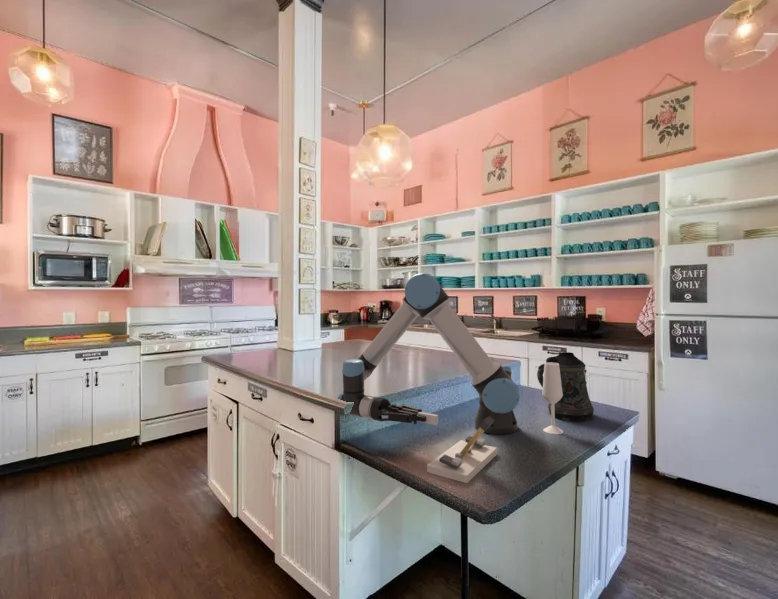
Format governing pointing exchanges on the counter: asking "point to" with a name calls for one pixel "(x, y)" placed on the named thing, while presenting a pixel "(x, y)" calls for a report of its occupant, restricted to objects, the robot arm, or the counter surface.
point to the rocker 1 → (451, 461)
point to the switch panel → (463, 462)
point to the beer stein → (570, 389)
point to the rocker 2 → (477, 442)
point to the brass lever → (477, 434)
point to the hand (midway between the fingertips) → (436, 420)
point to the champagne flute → (552, 392)
